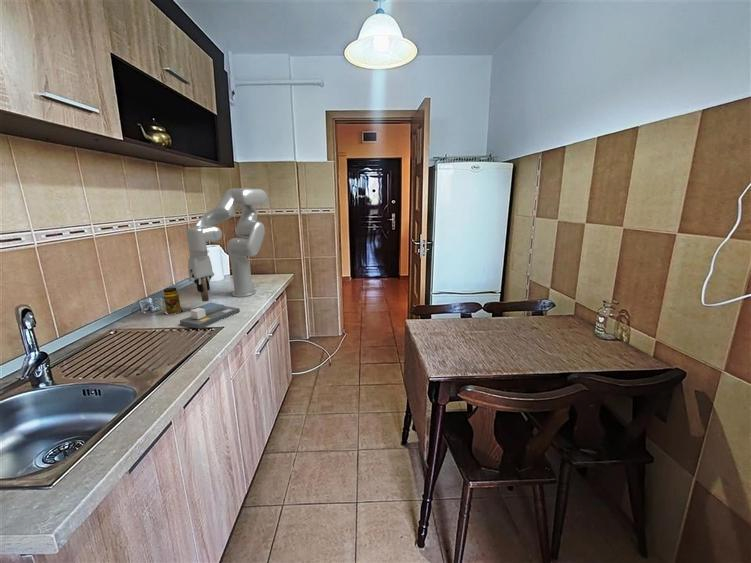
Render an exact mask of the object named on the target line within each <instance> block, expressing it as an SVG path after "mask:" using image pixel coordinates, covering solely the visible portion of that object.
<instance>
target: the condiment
mask: <svg viewBox="0 0 751 563" xmlns="http://www.w3.org/2000/svg"><path fill="white" fill-rule="evenodd" d="M179 295H180V294H179V293H178V290H177V287H174V286H173V287H172V286H171V287H166V288H164V289H163V299H164V304H165V309H166V310H165V311H167V313H168V314H174V315H176V314H175V313H178V314H180V313H179V312H181V310H183V312H181V313H184V312H186V310H184V309H182V306H181V301H180V297H179Z"/></svg>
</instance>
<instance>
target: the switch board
mask: <svg viewBox="0 0 751 563" xmlns="http://www.w3.org/2000/svg"><path fill="white" fill-rule="evenodd" d="M222 305H223V304H222ZM222 305H221V306H218V307H216V308H213V309H210V310H207V311H205V314H206V316H205V317H203V318H200V319H194V318H192V317H191V316H188V317H186V318H183V319H180V320H179V323H180V324H179V325H180V326H184V327H188V326H189V327H188V328H192V329H193V328H194V329H199V330H201V329H203V328H205V327H208V326H210V325H213V324H215V323H218V322H220V321H222V320H221V319H223V320H225V319H227V318H230V317H232V316H235V315H237V314H239V312H240V313H241V309H240V308H238V307H235V306H228V305H227V306H226V305H224V306H222ZM234 314H235V315H234ZM231 315H232V316H231ZM229 316H230V317H229ZM226 317H227V318H226ZM224 318H225V319H224ZM219 320H220V321H219ZM217 321H218V322H217ZM212 323H213V324H212Z"/></svg>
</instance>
